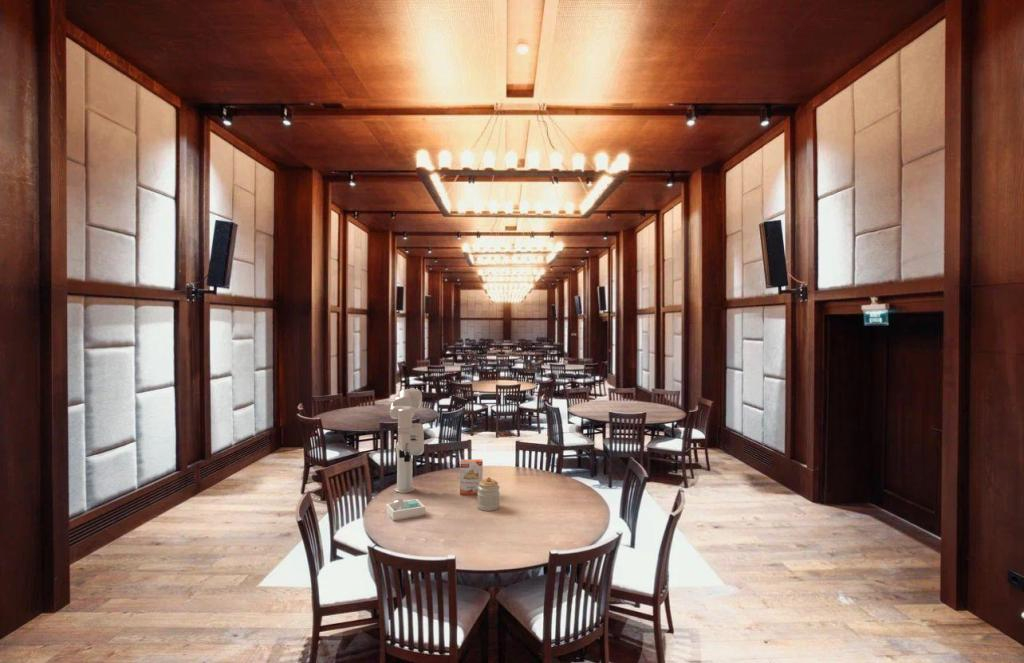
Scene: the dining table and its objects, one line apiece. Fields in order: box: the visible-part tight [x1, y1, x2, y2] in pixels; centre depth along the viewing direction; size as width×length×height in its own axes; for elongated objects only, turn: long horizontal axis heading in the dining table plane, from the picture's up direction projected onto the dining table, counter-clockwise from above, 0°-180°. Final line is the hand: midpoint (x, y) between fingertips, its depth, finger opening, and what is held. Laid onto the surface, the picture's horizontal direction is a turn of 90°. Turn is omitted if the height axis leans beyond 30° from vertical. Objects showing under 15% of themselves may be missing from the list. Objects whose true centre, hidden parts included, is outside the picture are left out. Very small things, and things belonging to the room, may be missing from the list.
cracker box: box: [459, 458, 484, 496], centre depth 333 cm, size 14×6×21 cm, turn 96°
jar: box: [476, 476, 501, 512], centre depth 309 cm, size 13×13×18 cm
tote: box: [385, 498, 426, 522], centre depth 297 cm, size 14×18×5 cm
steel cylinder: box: [393, 498, 404, 511], centre depth 295 cm, size 5×5×7 cm
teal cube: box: [407, 499, 418, 509], centre depth 299 cm, size 5×5×5 cm
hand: (404, 459), depth 305 cm, fingers open, 9 cm apart
